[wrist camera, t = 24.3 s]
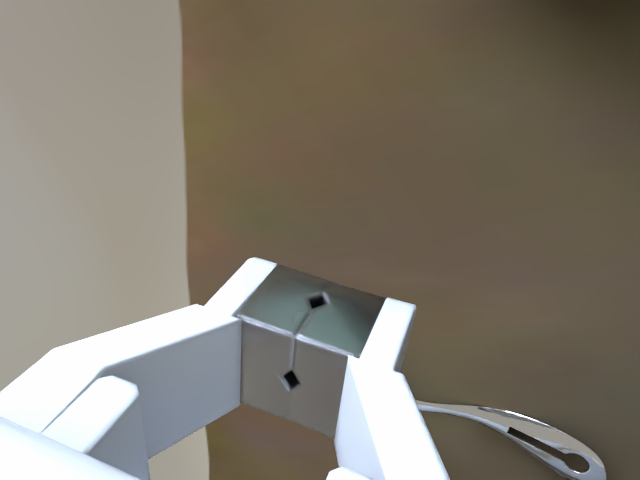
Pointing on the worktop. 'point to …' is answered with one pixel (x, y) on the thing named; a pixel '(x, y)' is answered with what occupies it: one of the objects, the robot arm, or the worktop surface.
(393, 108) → the worktop surface
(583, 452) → the silver spoon
